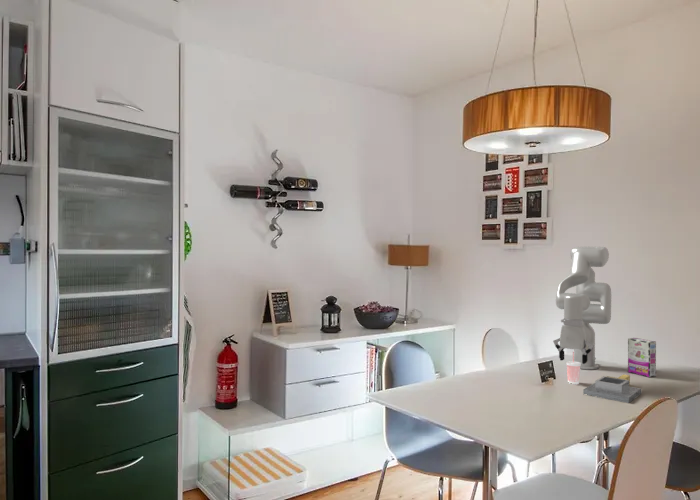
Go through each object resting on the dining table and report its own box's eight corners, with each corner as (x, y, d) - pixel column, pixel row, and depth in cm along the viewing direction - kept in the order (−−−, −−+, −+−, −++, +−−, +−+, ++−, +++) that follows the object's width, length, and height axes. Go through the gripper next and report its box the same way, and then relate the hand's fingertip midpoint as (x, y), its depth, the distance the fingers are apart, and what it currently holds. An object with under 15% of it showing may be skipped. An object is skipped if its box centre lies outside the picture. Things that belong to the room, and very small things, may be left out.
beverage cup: (568, 380, 234) (568, 349, 234) (582, 382, 230) (582, 351, 230) (564, 383, 229) (564, 351, 229) (578, 385, 225) (578, 353, 225)
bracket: (616, 382, 229) (616, 370, 229) (636, 386, 224) (636, 373, 224) (606, 389, 219) (606, 376, 219) (626, 393, 214) (626, 379, 214)
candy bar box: (656, 376, 239) (656, 341, 239) (649, 377, 237) (649, 342, 237) (634, 371, 249) (634, 337, 249) (627, 372, 247) (627, 338, 247)
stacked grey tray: (597, 385, 225) (597, 373, 225) (641, 393, 213) (641, 380, 213) (583, 394, 213) (583, 381, 212) (628, 403, 201) (628, 388, 201)
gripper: (550, 321, 232) (550, 360, 232) (590, 325, 220) (590, 366, 220) (557, 320, 238) (557, 357, 238) (596, 324, 226) (596, 363, 226)
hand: (573, 361), depth 229 cm, fingers open, 9 cm apart
